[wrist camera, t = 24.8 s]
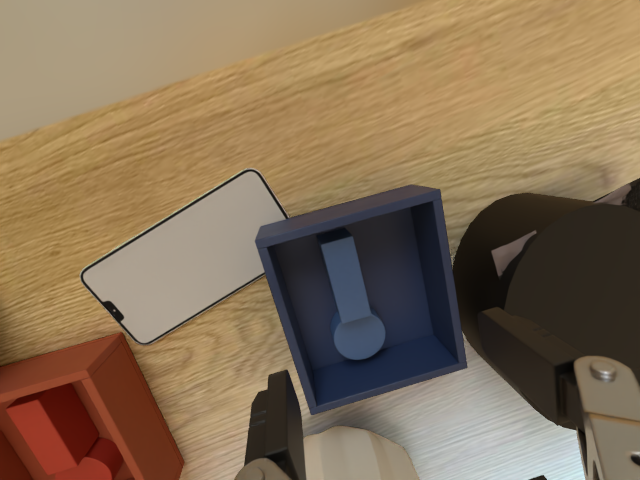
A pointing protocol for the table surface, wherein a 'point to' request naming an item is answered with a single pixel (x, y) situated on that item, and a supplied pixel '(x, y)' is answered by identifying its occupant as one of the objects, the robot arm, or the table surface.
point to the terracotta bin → (92, 409)
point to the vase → (355, 456)
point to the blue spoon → (349, 298)
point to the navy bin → (368, 294)
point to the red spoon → (64, 435)
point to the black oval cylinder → (557, 271)
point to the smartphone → (186, 259)
